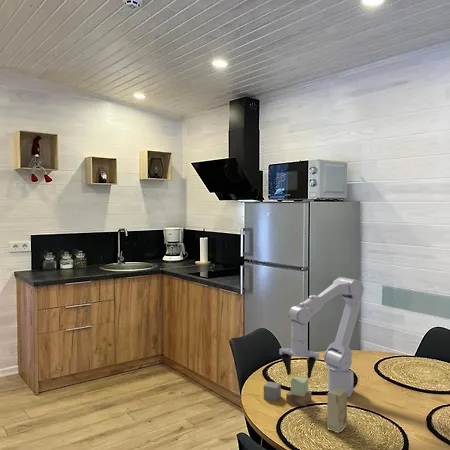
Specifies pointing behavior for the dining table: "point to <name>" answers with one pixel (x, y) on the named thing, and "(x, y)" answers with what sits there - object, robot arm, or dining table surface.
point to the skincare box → (337, 409)
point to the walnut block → (298, 399)
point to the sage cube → (299, 386)
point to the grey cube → (272, 391)
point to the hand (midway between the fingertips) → (299, 375)
